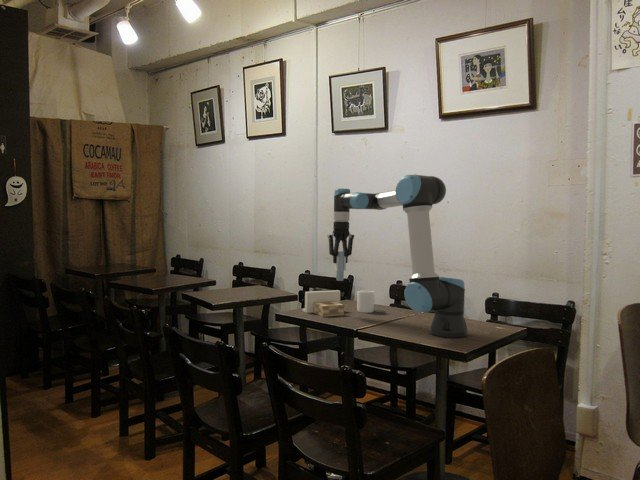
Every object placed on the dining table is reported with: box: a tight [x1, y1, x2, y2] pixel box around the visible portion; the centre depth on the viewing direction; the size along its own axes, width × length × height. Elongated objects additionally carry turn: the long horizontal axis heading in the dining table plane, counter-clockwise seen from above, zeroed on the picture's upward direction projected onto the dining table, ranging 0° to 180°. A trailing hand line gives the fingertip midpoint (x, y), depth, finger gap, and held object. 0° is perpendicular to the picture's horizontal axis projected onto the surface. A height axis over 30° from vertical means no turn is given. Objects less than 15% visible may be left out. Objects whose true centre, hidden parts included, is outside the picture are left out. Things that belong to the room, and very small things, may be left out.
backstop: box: [302, 289, 341, 314], centre depth 263 cm, size 5×18×10 cm, turn 114°
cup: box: [356, 289, 375, 314], centre depth 266 cm, size 8×12×10 cm
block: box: [314, 301, 345, 318], centre depth 256 cm, size 11×11×5 cm
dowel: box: [335, 250, 345, 282], centre depth 254 cm, size 3×3×14 cm
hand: (340, 269), depth 254 cm, fingers closed on dowel, 3 cm apart
